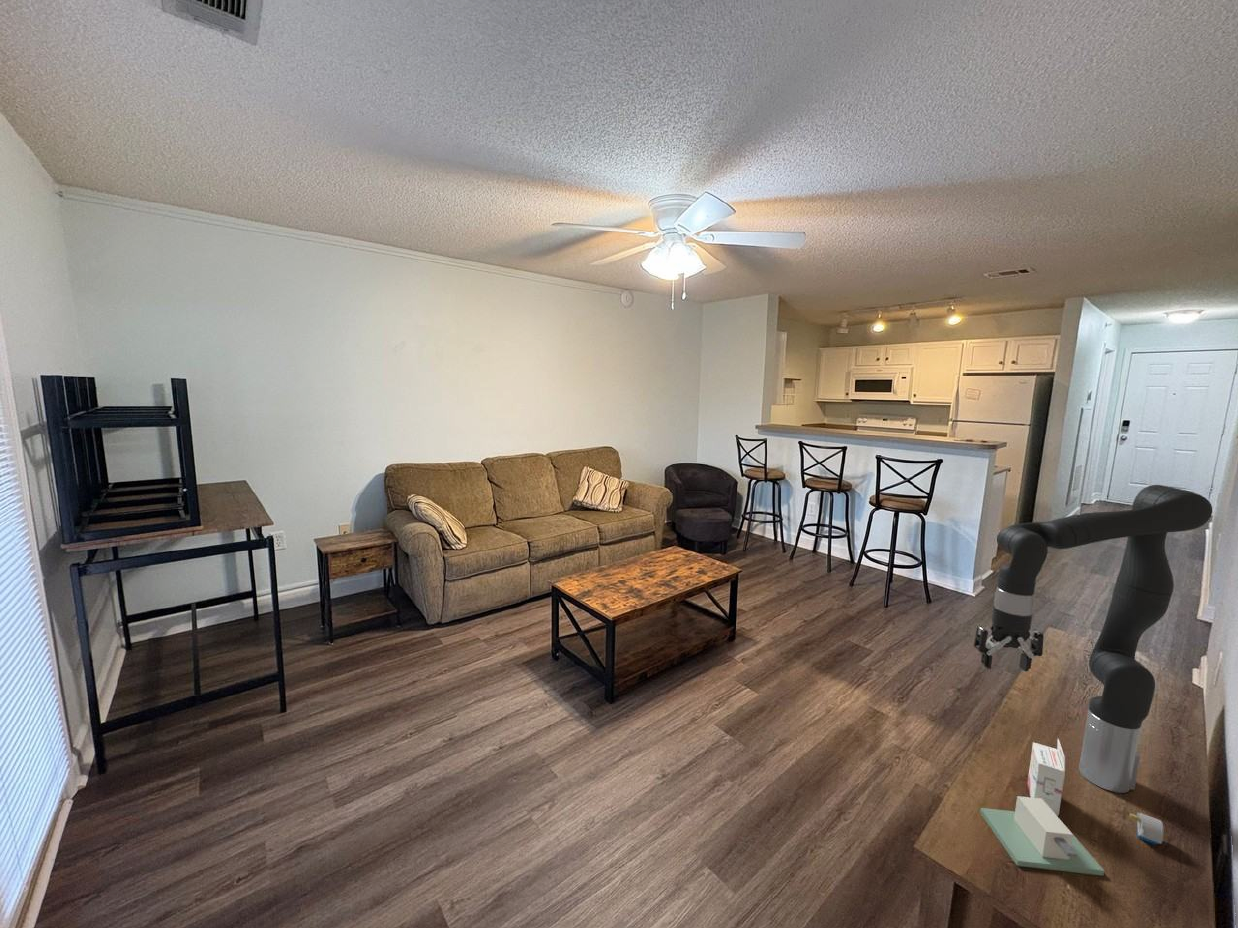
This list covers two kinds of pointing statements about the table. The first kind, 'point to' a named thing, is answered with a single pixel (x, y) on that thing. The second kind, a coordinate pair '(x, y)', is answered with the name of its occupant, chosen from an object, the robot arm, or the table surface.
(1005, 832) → the board
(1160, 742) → the table surface
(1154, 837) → the electric motor
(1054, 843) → the plug housing
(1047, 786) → the ink cartridge box
